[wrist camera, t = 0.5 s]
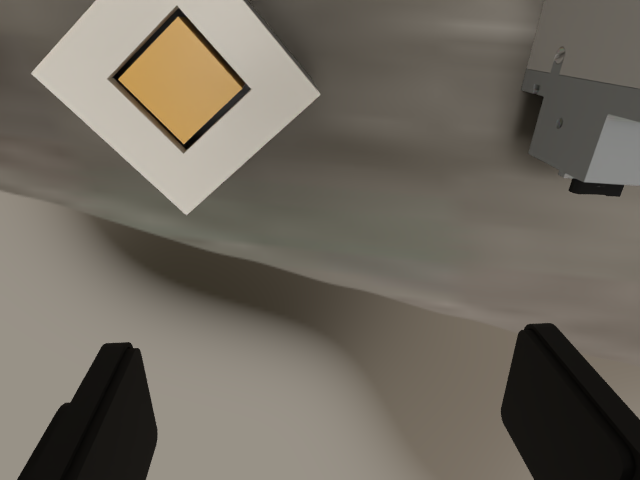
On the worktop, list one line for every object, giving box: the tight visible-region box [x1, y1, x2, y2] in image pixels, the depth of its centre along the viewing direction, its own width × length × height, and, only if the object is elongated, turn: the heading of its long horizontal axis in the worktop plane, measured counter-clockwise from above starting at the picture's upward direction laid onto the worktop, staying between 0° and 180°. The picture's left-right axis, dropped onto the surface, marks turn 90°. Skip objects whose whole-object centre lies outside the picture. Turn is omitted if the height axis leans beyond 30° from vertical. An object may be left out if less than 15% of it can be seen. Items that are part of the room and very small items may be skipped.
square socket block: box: [31, 0, 321, 215], centre depth 31 cm, size 12×12×9 cm
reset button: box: [118, 17, 246, 144], centre depth 30 cm, size 5×5×4 cm
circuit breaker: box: [521, 0, 640, 197], centre depth 31 cm, size 8×14×15 cm, turn 175°
